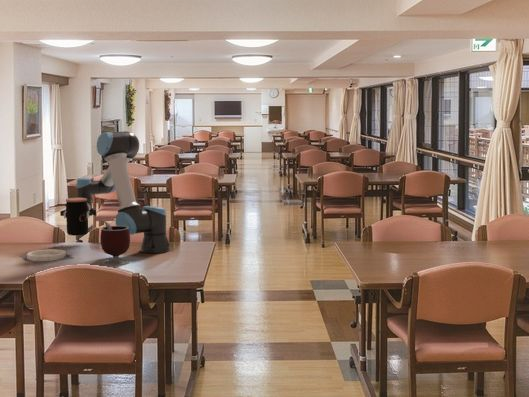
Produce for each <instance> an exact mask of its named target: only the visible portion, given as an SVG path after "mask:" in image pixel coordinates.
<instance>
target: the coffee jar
mask: <svg viewBox="0 0 529 397" xmlns="http://www.w3.org/2000/svg"><path fill="white" fill-rule="evenodd" d="M86 201H87V198H77V197H69V198H66V199H65V202H66V203H65V210H66V218H65V219H66V233H67V234H68V235H69V236H74V237H75V236H85V235H87V234H88V233H89V218H87V212H88V209H87V202H86Z"/></svg>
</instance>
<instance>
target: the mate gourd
mask: <svg viewBox="0 0 529 397" xmlns="http://www.w3.org/2000/svg"><path fill="white" fill-rule="evenodd" d="M102 222H103V223H104V224H105V226H104V227H101V228H100V229H101V231H100V246H101V249H102V250H103V252H104V254H107V255H110V256H112V259H108V260H104V261H103V262H102V265H104V266H107V267H120V266H125V265H128V264H130V261H129V260H127V259H123V258H120V256H121V255H123V254H125V253H127V251H128V250H129V249H130V244H131V235H130V232H129V227H126V226H116V225H111V224H110V223H109V222H108V221H106V220H102Z"/></svg>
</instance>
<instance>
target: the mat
mask: <svg viewBox="0 0 529 397" xmlns="http://www.w3.org/2000/svg"><path fill="white" fill-rule="evenodd" d="M19 258H22V259H24V260H26V261H28V262H30V263H32V264H35V265H36V264H42V263H49V262H57V261H65V260H73V259H74V257H73V256H70V255H68V254H66V256H65V258H62V259H58V260H51V261H32V260H29V259H27V254H26V255H19Z"/></svg>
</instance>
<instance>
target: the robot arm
mask: <svg viewBox="0 0 529 397" xmlns="http://www.w3.org/2000/svg"><path fill="white" fill-rule="evenodd" d="M139 150H140V141H139V138H138V136H137V135H136V134H134V133H133V132H131V131H128V130H127V131H125V130H124V131H108V132H102V133H101V134H100V135H99V136H98V138H97V141H96V151H97V153H98V154H99V155H100V156H103V158H104V161H105V162H107V163H108V167H107V168H106V170H105V172H104V173H103V174H102V176H101V178H100V179H98V180H92V179H91V178H89V177H82V178H81V177H80V178H77V179H76V195H77V196H76V198H87V201H86V202H87V209H88V212H87V218H88V219H89V218H90V216H91V217H93V216H97V210H96V209H94V207H93V203H92V196H94V195H101V194H102V195H105V194H112V193H114V192H115V193H116V197H117V201H118V205H119V207H118V210H117V213H116V216H115V220H114V222H115V226H126V227H129V232H130V236H131V235H133V236H134V235H136V234H142V233H143V237H142V242H141V246H140V252H142V253H145V254H147V253H148V254H162V253H167V252H170V251H171V244H170V242H169V239H168V236H167V210H166V208H165V207H162V206H150V205H145V206H143V207H141V204H140V203H138V202H137V201H136V199H137V198H136V196H135V192H134V188H133V184H132V181H131V177H130V173H129V169H128V164H129V163H130V161H131V160H132V159H134V158H135V157H136V156H137V155H138V153H139ZM59 213H60V217H63V218H64V219H66V209H63V210H60V212H59Z"/></svg>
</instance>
